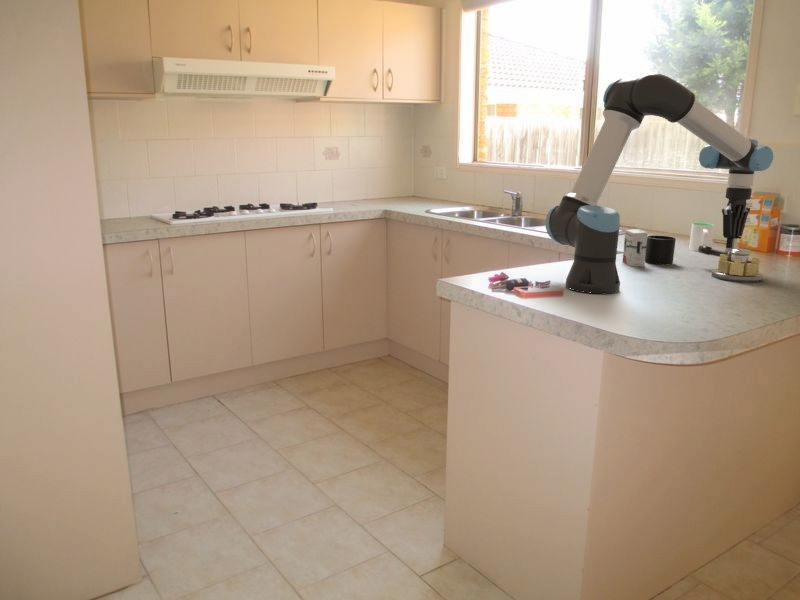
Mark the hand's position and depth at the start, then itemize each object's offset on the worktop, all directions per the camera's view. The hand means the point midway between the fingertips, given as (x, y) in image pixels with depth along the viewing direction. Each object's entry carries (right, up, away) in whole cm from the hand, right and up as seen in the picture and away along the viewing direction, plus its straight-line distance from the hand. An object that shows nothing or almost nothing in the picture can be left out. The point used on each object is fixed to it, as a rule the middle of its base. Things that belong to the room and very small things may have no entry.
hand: (729, 257), depth 225 cm
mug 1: (-20, -1, +13) cm, 24 cm away
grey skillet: (-5, -4, -6) cm, 9 cm away
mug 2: (+8, +5, +39) cm, 40 cm away
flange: (-3, -7, -12) cm, 14 cm away
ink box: (-30, -2, +8) cm, 31 cm away
